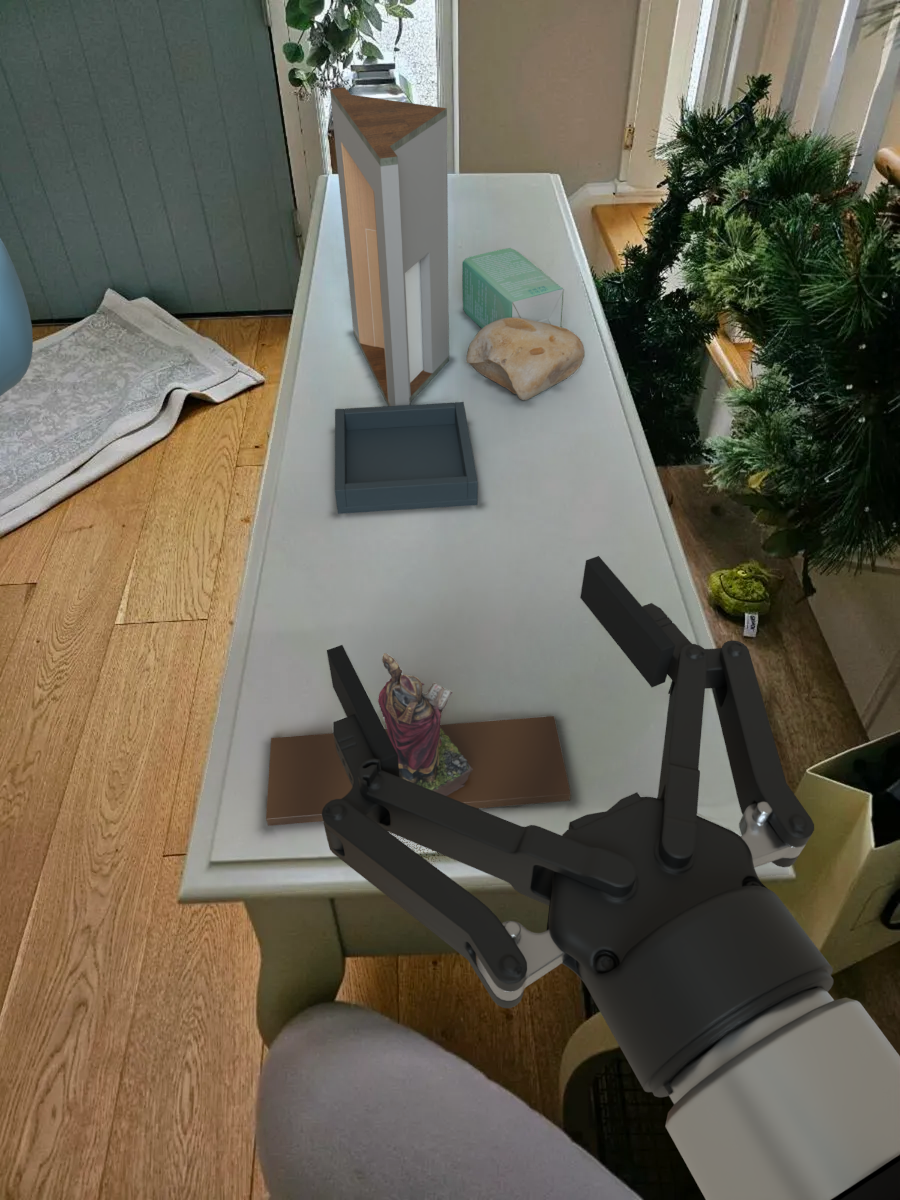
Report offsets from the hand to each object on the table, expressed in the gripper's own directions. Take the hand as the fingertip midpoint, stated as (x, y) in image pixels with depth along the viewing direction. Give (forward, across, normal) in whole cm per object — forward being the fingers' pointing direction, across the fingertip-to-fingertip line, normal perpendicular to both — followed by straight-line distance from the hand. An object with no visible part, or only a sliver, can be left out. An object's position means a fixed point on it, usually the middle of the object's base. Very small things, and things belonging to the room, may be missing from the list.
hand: (468, 618), depth 42 cm
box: (+64, +37, -25) cm, 78 cm away
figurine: (+8, 0, -24) cm, 25 cm away
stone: (+52, +33, -25) cm, 66 cm away
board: (+8, 0, -25) cm, 26 cm away
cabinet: (+60, +22, -25) cm, 69 cm away
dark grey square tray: (+43, +14, -25) cm, 51 cm away
